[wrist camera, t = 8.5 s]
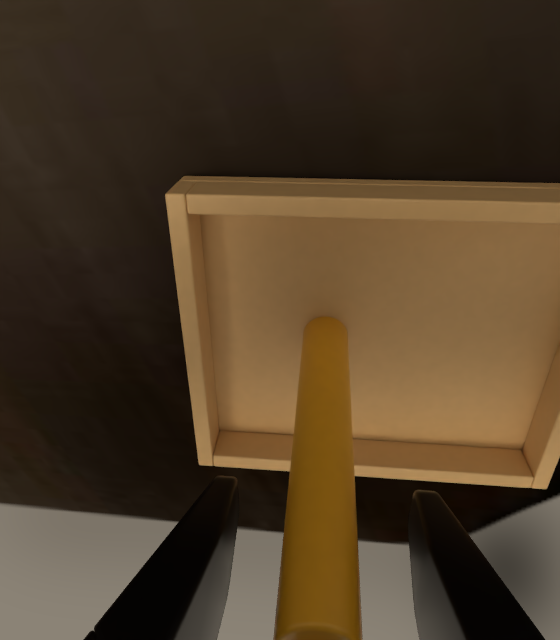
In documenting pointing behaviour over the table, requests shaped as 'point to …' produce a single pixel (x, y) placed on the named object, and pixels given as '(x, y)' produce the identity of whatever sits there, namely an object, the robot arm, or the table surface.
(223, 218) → the tray
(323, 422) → the pencil
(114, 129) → the table surface
